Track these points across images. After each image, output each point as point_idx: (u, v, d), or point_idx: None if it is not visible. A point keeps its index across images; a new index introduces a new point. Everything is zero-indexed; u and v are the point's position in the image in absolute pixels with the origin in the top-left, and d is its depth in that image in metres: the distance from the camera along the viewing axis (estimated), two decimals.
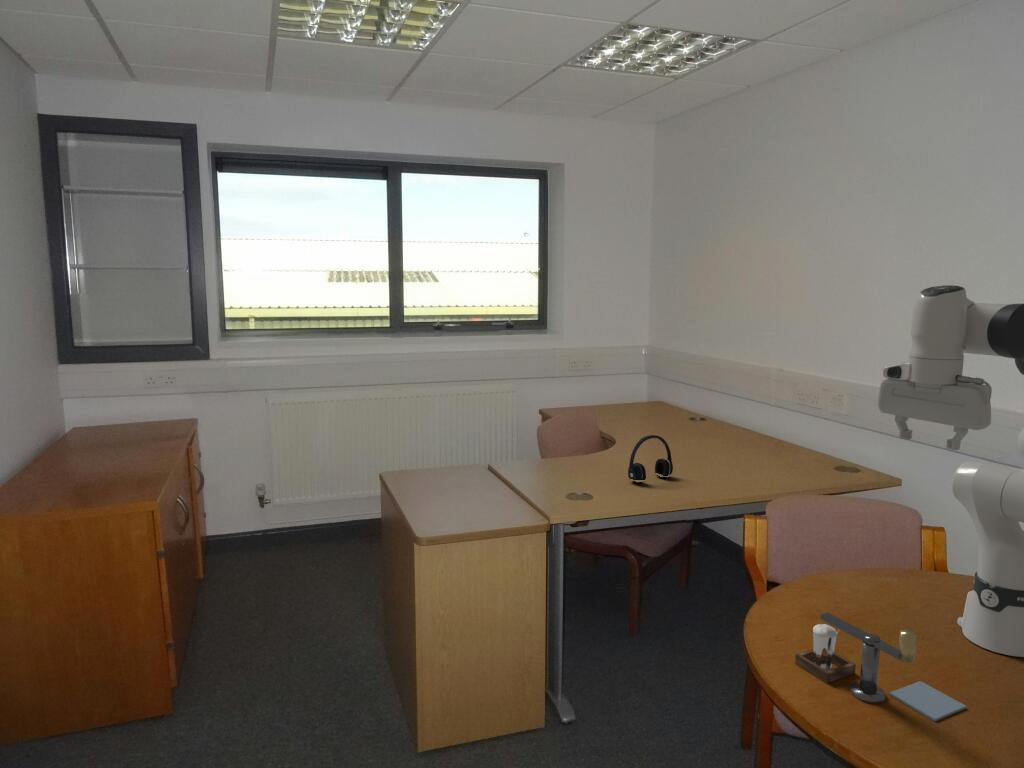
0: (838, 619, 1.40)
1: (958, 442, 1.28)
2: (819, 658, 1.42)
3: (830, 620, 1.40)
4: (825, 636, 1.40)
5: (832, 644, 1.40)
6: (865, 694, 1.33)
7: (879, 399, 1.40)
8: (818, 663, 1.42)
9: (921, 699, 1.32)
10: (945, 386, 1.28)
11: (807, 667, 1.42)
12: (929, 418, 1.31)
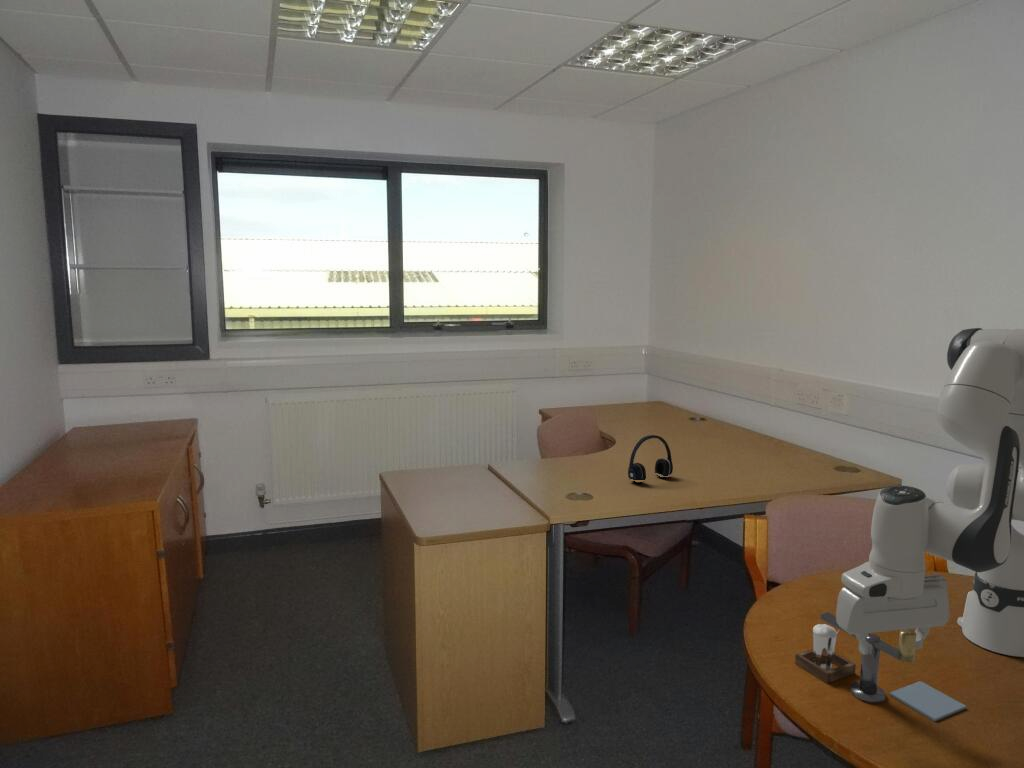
0: None
1: None
2: (819, 658, 1.42)
3: (830, 620, 1.40)
4: (825, 636, 1.40)
5: (832, 644, 1.40)
6: (865, 694, 1.33)
7: (852, 622, 1.21)
8: (818, 663, 1.42)
9: (921, 699, 1.32)
10: None
11: (807, 667, 1.42)
12: (904, 626, 1.23)
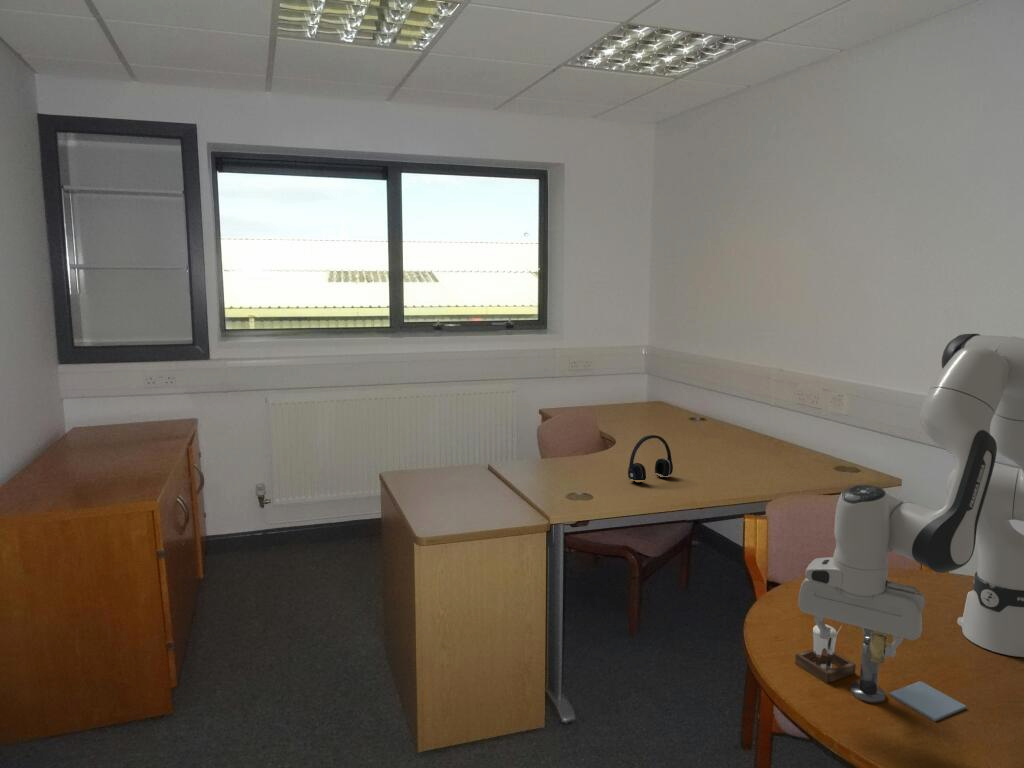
0: None
1: (895, 648, 1.24)
2: (819, 658, 1.42)
3: None
4: None
5: (832, 644, 1.40)
6: (865, 694, 1.33)
7: (800, 599, 1.31)
8: (818, 663, 1.42)
9: (921, 699, 1.32)
10: (877, 594, 1.23)
11: (807, 667, 1.42)
12: (861, 624, 1.25)
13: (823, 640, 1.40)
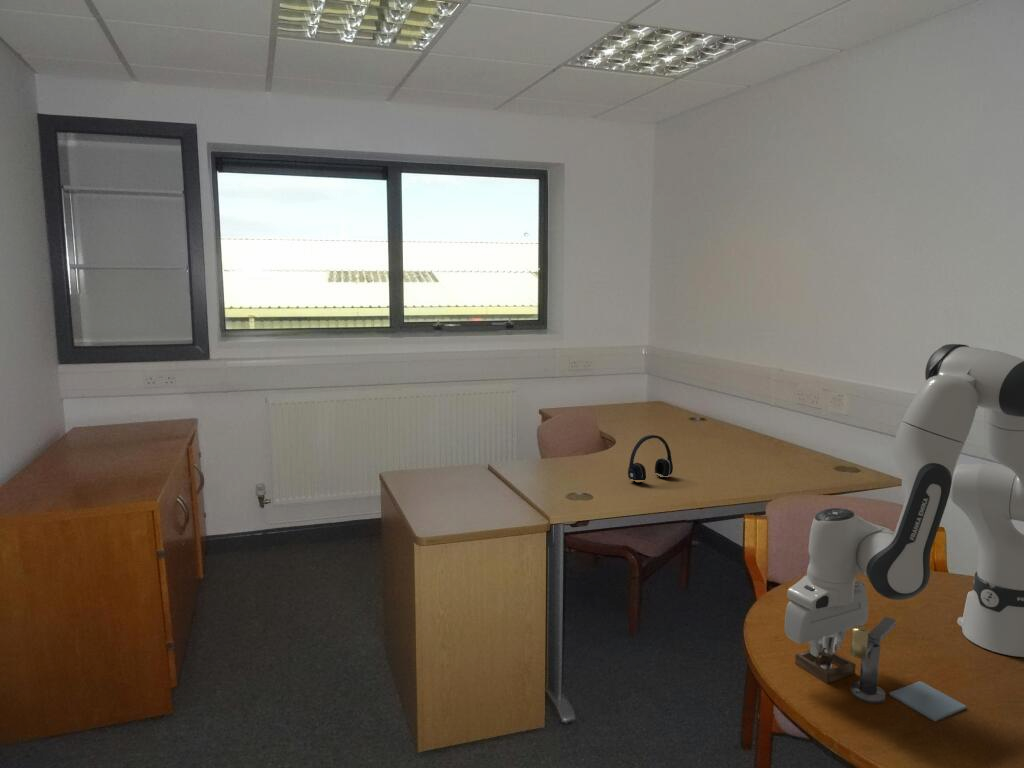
0: (888, 624, 1.38)
1: None
2: (819, 657, 1.42)
3: None
4: None
5: (832, 643, 1.40)
6: (865, 694, 1.33)
7: (802, 632, 1.36)
8: (818, 662, 1.42)
9: (921, 699, 1.32)
10: None
11: (807, 667, 1.42)
12: (838, 630, 1.40)
13: (824, 639, 1.40)
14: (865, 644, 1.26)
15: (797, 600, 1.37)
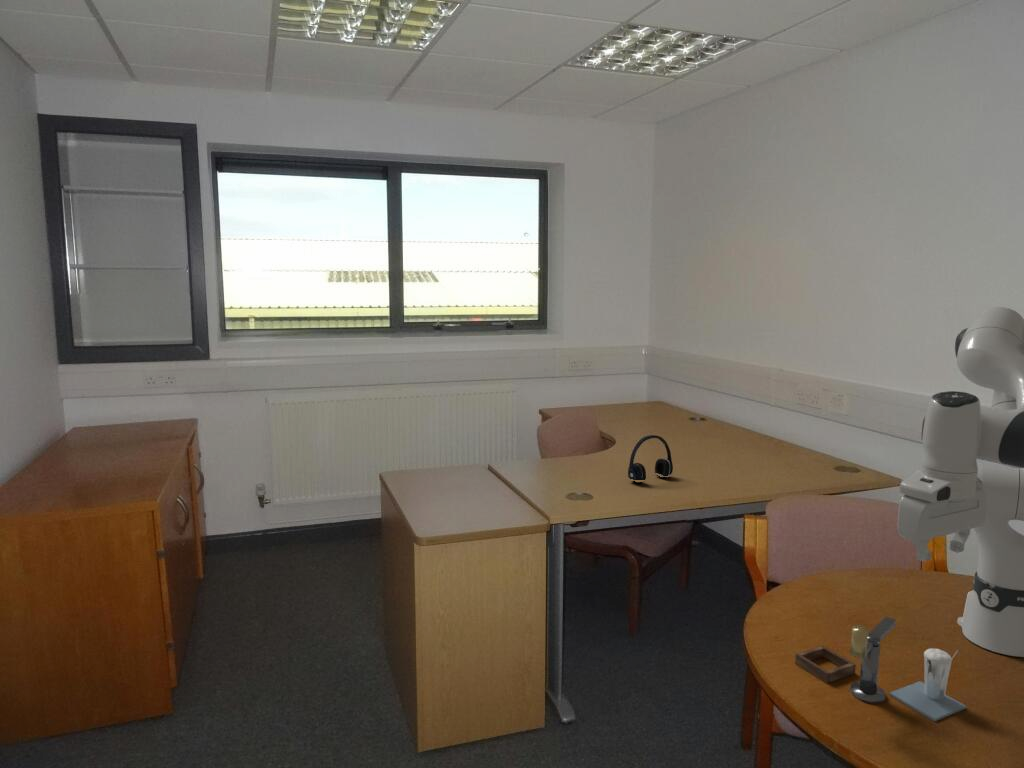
0: (888, 624, 1.38)
1: None
2: (931, 685, 1.31)
3: None
4: (939, 662, 1.29)
5: (946, 670, 1.30)
6: (865, 694, 1.33)
7: (920, 528, 1.20)
8: (930, 691, 1.31)
9: (921, 699, 1.32)
10: None
11: (807, 667, 1.42)
12: (956, 529, 1.25)
13: (936, 666, 1.30)
14: (865, 644, 1.26)
15: (913, 493, 1.22)
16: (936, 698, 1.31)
